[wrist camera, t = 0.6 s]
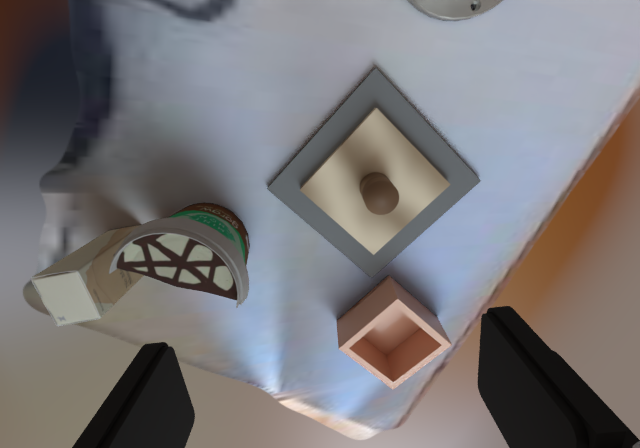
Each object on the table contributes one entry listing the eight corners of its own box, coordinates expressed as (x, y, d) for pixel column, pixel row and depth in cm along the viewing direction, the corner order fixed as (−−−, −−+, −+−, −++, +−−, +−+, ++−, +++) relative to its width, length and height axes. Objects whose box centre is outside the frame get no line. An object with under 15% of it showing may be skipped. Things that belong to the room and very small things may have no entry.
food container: (274, 211, 38) (260, 250, 28) (260, 258, 40) (242, 309, 31) (163, 177, 36) (109, 207, 27) (154, 228, 38) (102, 272, 29)
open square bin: (388, 275, 41) (397, 298, 36) (437, 317, 43) (451, 345, 38) (336, 320, 43) (338, 348, 38) (385, 358, 45) (392, 389, 41)
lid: (375, 107, 33) (384, 110, 29) (447, 182, 36) (466, 195, 31) (300, 187, 36) (297, 201, 31) (372, 251, 39) (379, 272, 34)
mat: (374, 68, 33) (376, 67, 32) (478, 179, 36) (480, 180, 36) (267, 187, 37) (267, 188, 36) (370, 275, 41) (371, 278, 40)
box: (158, 263, 40) (102, 322, 30) (123, 269, 40) (56, 330, 30) (141, 222, 38) (75, 270, 28) (105, 228, 38) (26, 278, 28)
